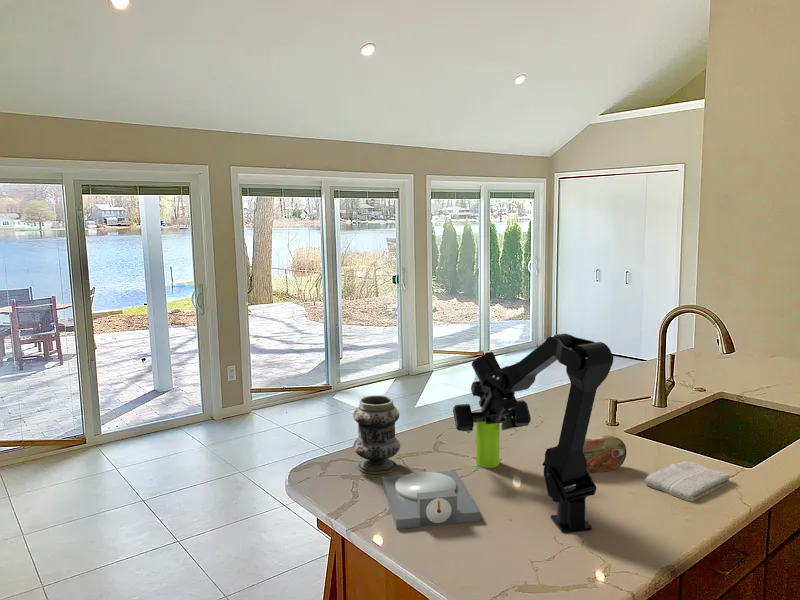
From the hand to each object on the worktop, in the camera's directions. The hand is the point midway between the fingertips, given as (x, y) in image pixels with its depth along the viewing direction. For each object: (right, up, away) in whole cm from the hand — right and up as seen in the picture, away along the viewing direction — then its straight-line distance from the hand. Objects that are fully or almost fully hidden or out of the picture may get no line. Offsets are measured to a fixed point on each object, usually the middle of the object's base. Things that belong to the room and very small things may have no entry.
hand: (485, 429), depth 164 cm
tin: (+27, -9, -5) cm, 29 cm away
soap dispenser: (0, -9, 0) cm, 9 cm away
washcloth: (+46, -10, -14) cm, 49 cm away
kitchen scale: (-16, -12, -21) cm, 28 cm away
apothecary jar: (-28, -10, 0) cm, 30 cm away
